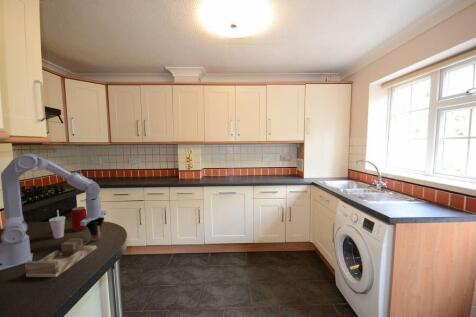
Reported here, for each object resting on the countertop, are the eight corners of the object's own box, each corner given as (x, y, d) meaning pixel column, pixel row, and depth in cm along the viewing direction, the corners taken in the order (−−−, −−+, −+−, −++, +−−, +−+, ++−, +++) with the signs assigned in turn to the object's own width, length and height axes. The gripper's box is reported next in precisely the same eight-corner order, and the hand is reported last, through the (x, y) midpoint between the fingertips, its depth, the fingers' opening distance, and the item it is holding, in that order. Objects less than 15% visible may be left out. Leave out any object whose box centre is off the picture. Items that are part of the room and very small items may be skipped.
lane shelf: (56, 277, 73) (54, 263, 73) (26, 276, 74) (24, 262, 73) (96, 248, 93) (95, 237, 93) (73, 248, 93) (72, 237, 93)
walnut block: (74, 255, 84) (72, 241, 84) (62, 255, 85) (60, 241, 84) (102, 237, 101) (101, 225, 100) (92, 237, 101) (91, 225, 101)
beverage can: (85, 225, 119) (83, 205, 118) (89, 228, 115) (87, 207, 114) (70, 229, 114) (69, 208, 113) (74, 233, 110) (72, 211, 109)
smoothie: (59, 239, 102) (57, 212, 101) (46, 239, 102) (44, 212, 101) (70, 233, 108) (68, 208, 107) (58, 234, 109) (56, 208, 107)
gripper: (90, 212, 92) (92, 241, 93) (111, 202, 106) (113, 227, 107) (75, 212, 92) (77, 241, 93) (98, 202, 106) (100, 228, 107)
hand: (95, 234), depth 100 cm, fingers closed on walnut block, 2 cm apart
